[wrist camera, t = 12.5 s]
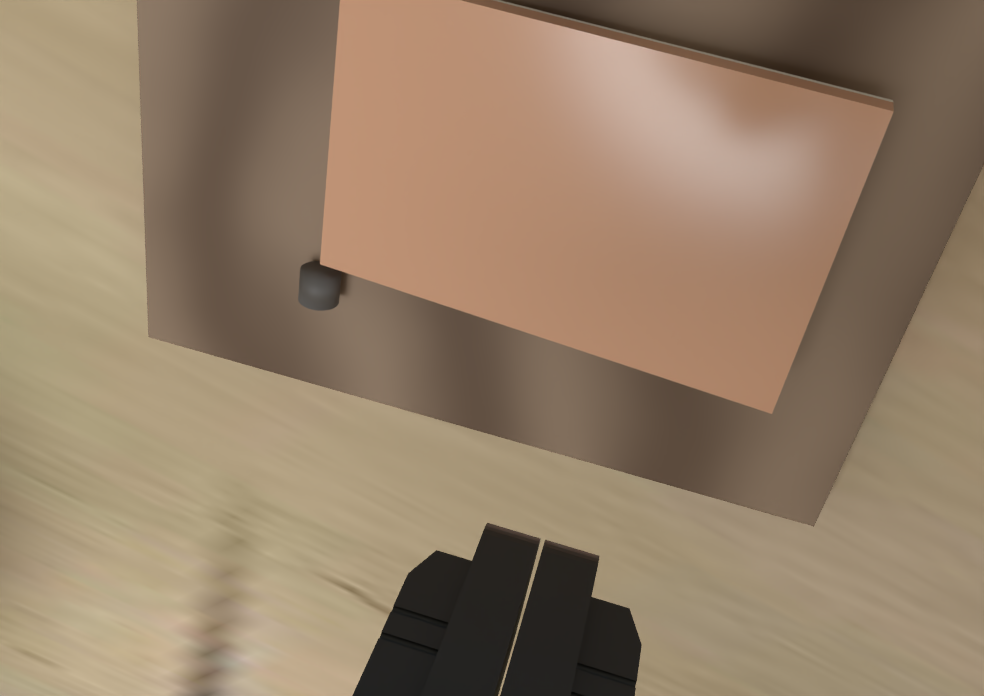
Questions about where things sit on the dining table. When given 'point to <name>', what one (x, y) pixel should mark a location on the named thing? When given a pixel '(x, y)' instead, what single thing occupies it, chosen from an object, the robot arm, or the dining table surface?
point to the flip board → (504, 350)
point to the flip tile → (592, 185)
